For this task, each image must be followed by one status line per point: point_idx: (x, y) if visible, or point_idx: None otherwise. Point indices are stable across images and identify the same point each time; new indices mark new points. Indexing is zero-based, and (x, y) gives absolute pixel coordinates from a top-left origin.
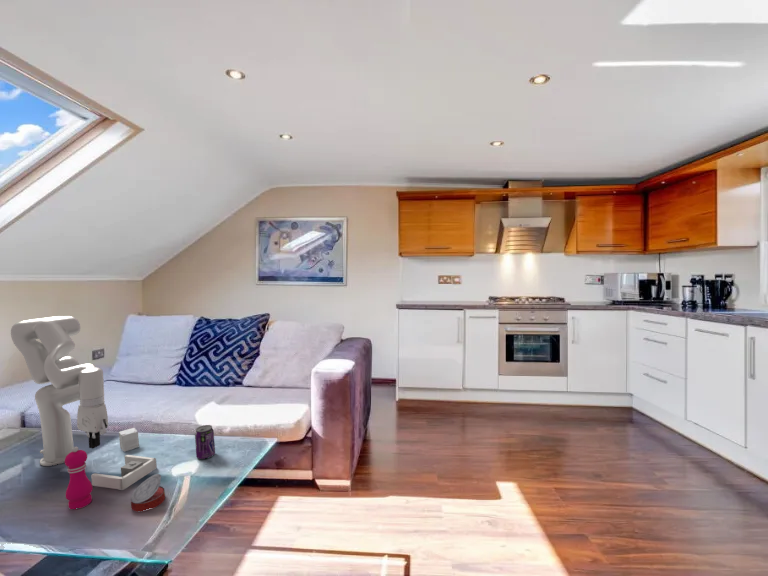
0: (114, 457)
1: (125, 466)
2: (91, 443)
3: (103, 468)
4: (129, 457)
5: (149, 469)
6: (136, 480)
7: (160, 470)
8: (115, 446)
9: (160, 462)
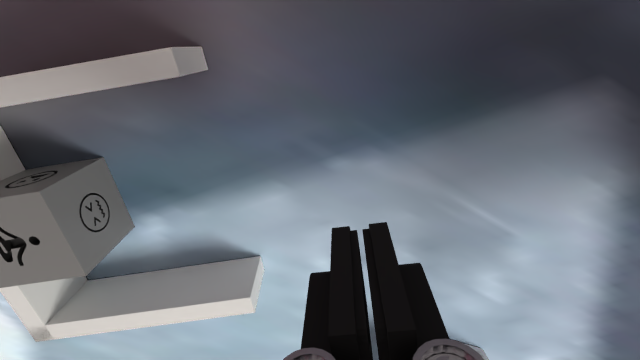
0: None
1: (29, 214)
2: (342, 268)
3: (355, 199)
4: (211, 299)
5: None
6: None
7: None
8: (521, 347)
9: None
